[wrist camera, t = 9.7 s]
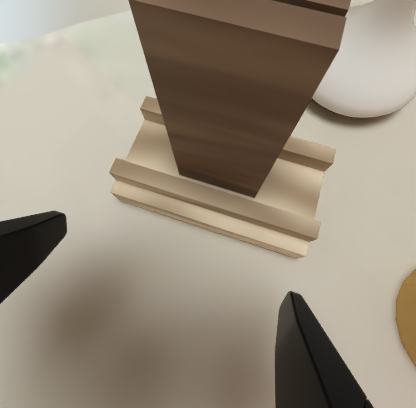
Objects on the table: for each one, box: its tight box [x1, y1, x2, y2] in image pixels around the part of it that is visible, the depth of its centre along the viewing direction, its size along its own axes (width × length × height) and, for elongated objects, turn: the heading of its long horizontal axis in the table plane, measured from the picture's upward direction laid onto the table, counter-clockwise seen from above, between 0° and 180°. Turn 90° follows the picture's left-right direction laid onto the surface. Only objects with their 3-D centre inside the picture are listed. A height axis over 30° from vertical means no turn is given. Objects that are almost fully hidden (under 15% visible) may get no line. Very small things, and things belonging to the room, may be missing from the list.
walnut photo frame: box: [129, 0, 351, 198], centre depth 13 cm, size 3×6×12 cm, turn 72°
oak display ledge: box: [109, 96, 336, 258], centre depth 19 cm, size 9×15×3 cm, turn 72°
